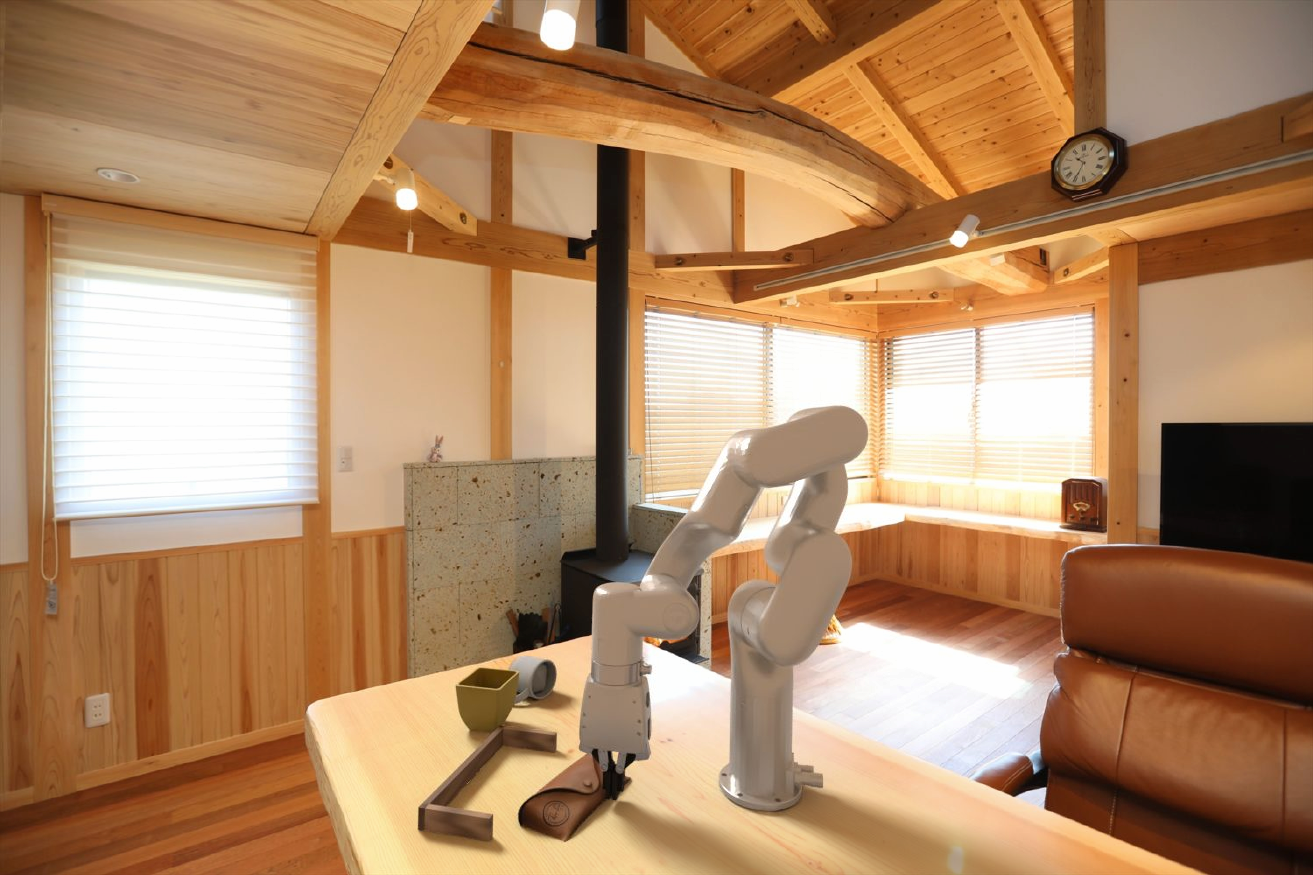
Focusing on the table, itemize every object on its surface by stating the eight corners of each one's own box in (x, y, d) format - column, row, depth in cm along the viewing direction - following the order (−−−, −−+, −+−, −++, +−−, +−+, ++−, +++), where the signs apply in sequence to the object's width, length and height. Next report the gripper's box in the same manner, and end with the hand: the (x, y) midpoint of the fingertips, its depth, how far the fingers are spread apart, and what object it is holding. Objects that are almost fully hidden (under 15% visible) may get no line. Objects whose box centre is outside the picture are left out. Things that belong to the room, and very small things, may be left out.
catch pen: (556, 749, 102) (556, 732, 102) (489, 841, 78) (489, 818, 78) (499, 742, 104) (500, 725, 104) (417, 829, 80) (418, 807, 80)
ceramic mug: (529, 682, 130) (529, 647, 130) (557, 691, 125) (557, 655, 125) (491, 700, 121) (492, 663, 121) (520, 711, 116) (520, 672, 116)
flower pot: (498, 740, 105) (499, 689, 105) (453, 734, 106) (454, 684, 106) (519, 717, 113) (520, 670, 113) (477, 712, 115) (478, 666, 115)
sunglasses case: (567, 844, 78) (547, 792, 79) (530, 856, 81) (511, 806, 82) (634, 776, 94) (616, 735, 95) (601, 788, 97) (585, 747, 98)
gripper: (671, 665, 89) (668, 787, 89) (576, 655, 92) (573, 773, 92) (661, 684, 82) (658, 818, 82) (559, 673, 85) (556, 802, 85)
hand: (613, 794), depth 87 cm, fingers closed
